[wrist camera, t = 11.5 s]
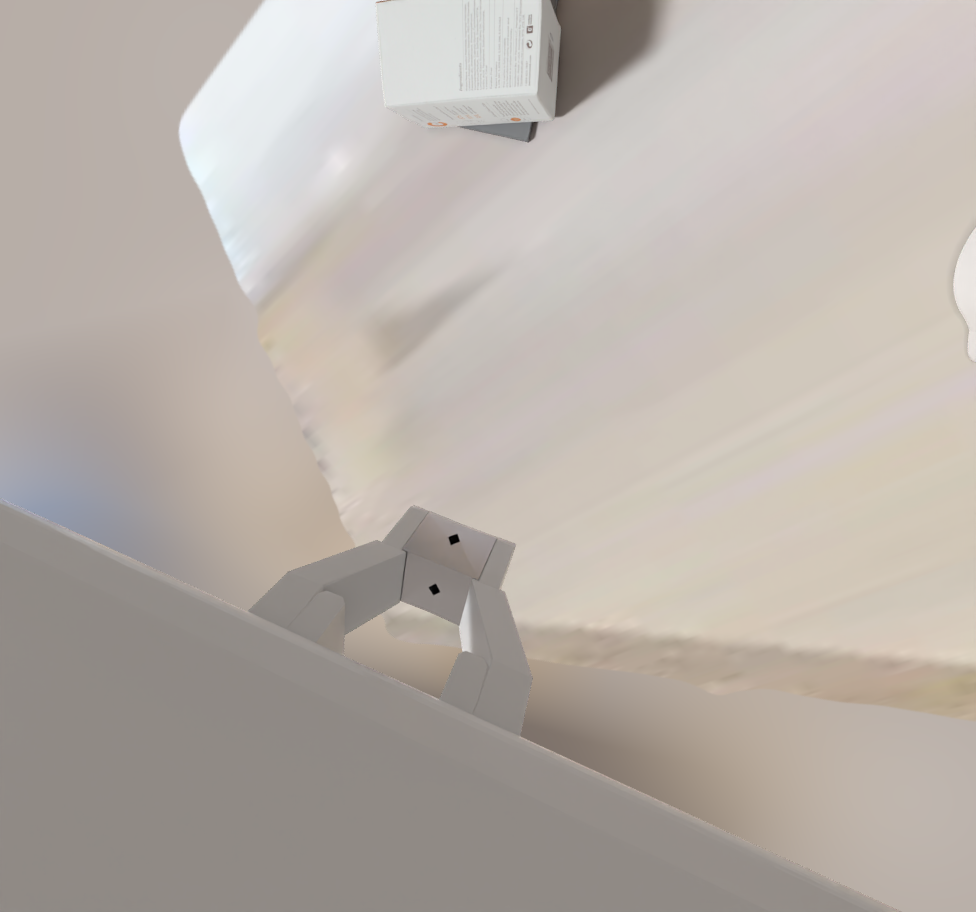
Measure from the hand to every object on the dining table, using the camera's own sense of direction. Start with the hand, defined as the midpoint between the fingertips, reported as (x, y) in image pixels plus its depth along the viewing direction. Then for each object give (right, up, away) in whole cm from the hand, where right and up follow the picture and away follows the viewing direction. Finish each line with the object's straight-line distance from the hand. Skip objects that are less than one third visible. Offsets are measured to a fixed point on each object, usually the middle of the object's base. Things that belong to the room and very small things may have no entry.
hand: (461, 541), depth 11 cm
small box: (+6, +34, +21) cm, 40 cm away
